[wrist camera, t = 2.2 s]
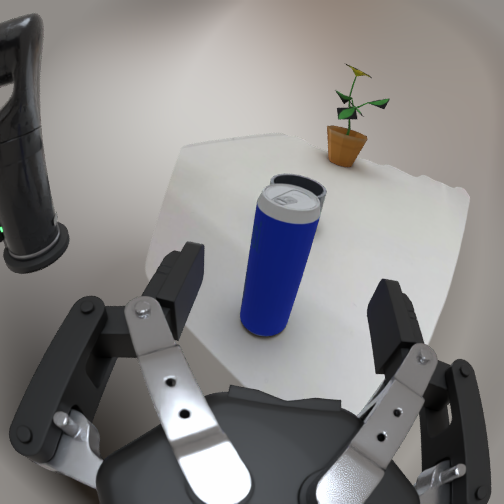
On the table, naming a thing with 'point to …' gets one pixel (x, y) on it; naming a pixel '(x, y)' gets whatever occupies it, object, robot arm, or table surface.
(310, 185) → the grey pen holder cup
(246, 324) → the beverage can
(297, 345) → the table surface
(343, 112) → the potted plant
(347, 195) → the table surface
